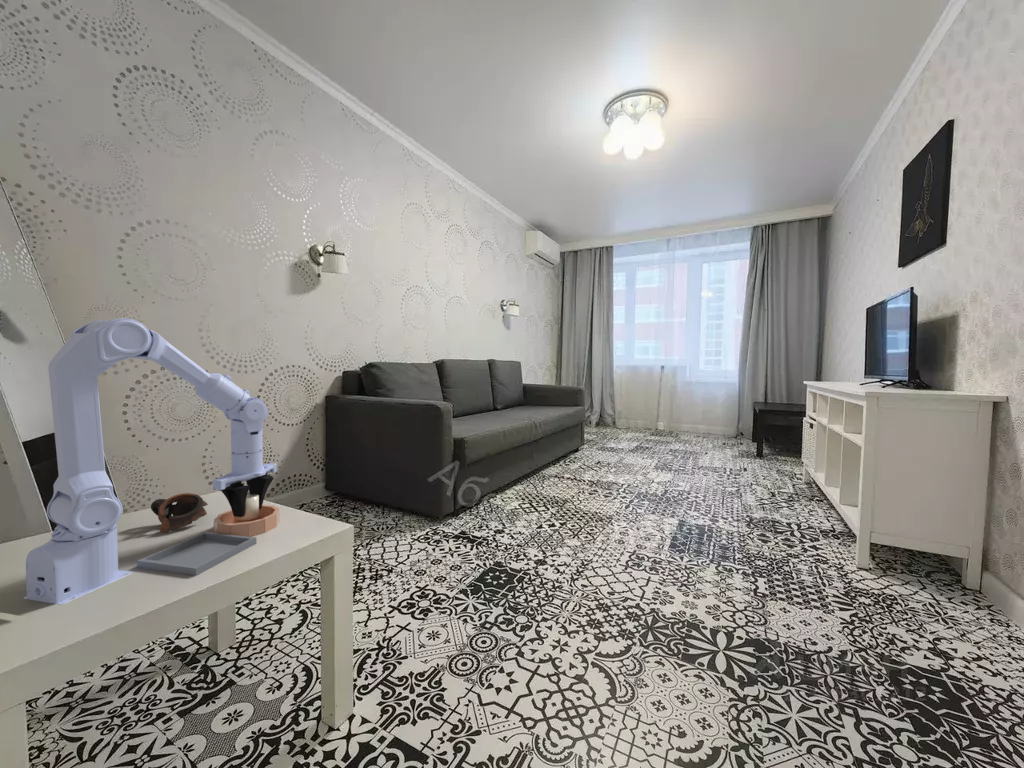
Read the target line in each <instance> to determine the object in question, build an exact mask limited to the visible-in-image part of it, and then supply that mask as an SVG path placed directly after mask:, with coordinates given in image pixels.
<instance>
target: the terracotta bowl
mask: <svg viewBox="0 0 1024 768" xmlns="http://www.w3.org/2000/svg"><path fill="white" fill-rule="evenodd" d="M280 522H281V521H280V508H279V507H278V506H275V505H269V504H262V508H261V509H259V516H258V517H256V518H254V519H250V520H238V519H237V517H235V516H234V515H233V512H232V509H230V510H227V511H224V512H222V513H220V514H218V515H217V516H216V517H215V518H214V519H213V533H221V534H229V535H238V536H247V537H255V536H258V535H262V534H265V533H267V532H270V531H271V530H274V529H275V528H277V527H278V525H279V523H280Z"/></svg>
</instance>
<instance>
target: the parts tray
mask: <svg viewBox="0 0 1024 768" xmlns="http://www.w3.org/2000/svg"><path fill="white" fill-rule="evenodd" d="M256 544H257V537H255V536H252V537H247V536H238V535H229V534H221V533H214V532H209V531H203V532H201V533H199V534H196V535H194V536H192V537H189V538H186V539H184V540H182V541H180V542H177V543H175V544H173V545H171V546H169V547H166V548H163V549H162V550H158V551H157V552H154V553H152V554H150V555H148V556H145V557H142V558H140V559H138V560H136V567H137V568H138V569H145V570H146V569H147V570H151V571H160V572H167V573H173V574H180V575H181V574H182V575H188V576H196V577H197V576H198V575H200V574H203V573H204V572H206V571H207V570H209V569H212V568H214V567H215V566H217V565H220V564H221V563H223V562H225V561H227V560H228V559H231V558H233V557H234V556H236V555H238V554H240V553H241V552H243V551H245V550H247V549H249V548H251V547H253V546H255V545H256Z"/></svg>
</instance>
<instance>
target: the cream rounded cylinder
mask: <svg viewBox="0 0 1024 768" xmlns="http://www.w3.org/2000/svg"><path fill="white" fill-rule="evenodd" d="M258 516H259V495H258V494H250V493H247V497H246V508H245V515H244V516H243V517H237V519H238V520H250V519H254V518H256V517H258Z"/></svg>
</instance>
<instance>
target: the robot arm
mask: <svg viewBox="0 0 1024 768" xmlns="http://www.w3.org/2000/svg"><path fill="white" fill-rule="evenodd" d="M128 359H139V360H144V361H151V362H154V363H155V364H158V365H159V366H161V367H163V368H164V369H166V370H168V371H169V372H171V373H173V374H174V375H176V376H177V377H180V378H181V379H183V380H184V381H186V382H188V383H190V384H191V385H193V386H194V389H195V390H194V391H195V395H196V396H197V397H199V398H201V399H202V400H203V401H205V402H207V404H210V405H212V407H214V408H216V409H218V410H219V411H221V412H222V413H224V414H223V415H224V416H225V418H226V419H227V420H230V452H231V453H230V456H231V457H230V458H231V459H230V460H231V462H230V464H231V468H230V469H231V471H230V472H228V473H226V474H224V475H222V476H220V477H218V478H216V479H213V480H212V490H217V491H221V493H222V494H223V495H224V496H225V498H226V500H227V502H228V503H229V506H230V510H232V512H233V515H234V516H235V517H243V516H244V515H245V508H246V497H247V494H258V495H259V509H261V508H262V505H264V504H263V503H264V500H265V496H266V494H267V491H268V489H269V486H270V485H271V484H272V482H273V480H274V478H273V477H274V476H273V475H270V474H271V473H277V472H278V468H277V466H278V464H277V463H274V462H273V463H272V462H269V463H266V464H265V463H264V462H263V461H264V460H263V458H264V457H263V456H264V454H263V453H264V452H263V449H264V448H263V447H264V444H263V439H264V438H263V435H264V434H263V428H264V422H265V421H266V419H267V417H268V416H269V408H267V406H266V404H265V402H264V401H263V400H262V399H261V398H258V397H254V396H253V397H252V396H250V391H249V390H248V389H242V388H241V387H240V386H238V385H237V384H235V383H234V382H233V381H231V380H232V377H231V376H230V375H229V374H221V373H218V372H214V373H208V371H206V370H205V369H204V368H202V367H201V366H200V365H199V364H197V363H196V362H195V361H193V360H192V359H190V358H189V357H188V356H186V355H185V354H184V353H183V352H182V351H180V350H179V349H177V348H176V347H175V346H174V345H172V344H171V343H170V342H169V341H167V340H166V339H165V338H164V337H163V336H162V335H160V334H159V333H158V332H157V331H153V330H152V329H148V328H147V327H146V325H144V324H143V323H141V322H139V321H137V320H135V319H134V318H133V319H132V318H129V317H128V318H125V317H120V318H115V319H109V320H106V319H105V320H104V319H99V320H93V321H90V322H87V323H86V324H84V325H82V326H80V327H77V328H76V329H74V330H72V331H71V334H70V336H69V338H68V339H67V341H66V342H65V343H64V344H63V345H62V347H61V348H60V349H59V350H58V351H57V353H55V355H54V356H53V357H52V359H51V360H50V361H49V362H48V367H47V368H48V377H49V389H50V397H51V398H50V399H51V409H52V420H53V421H52V422H53V430H54V431H53V432H54V441H55V450H56V461H57V471H58V476H57V478H56V480H55V481H54V483H53V487H52V488H53V495H52V497H51V499H50V500H49V502H48V504H47V507H46V515H47V517H48V519H49V520H50V521H51V522H53V523H54V524H56V526H55V527H54V529H53V531H52V533H51V538H50V539H49V540H48V541H47V542H45V543H44V544H42V545H39V546H37V547H35V548H32V549H31V550H30V551H29V552H28V554H27V556H26V559H25V581H26V582H25V584H26V585H25V586H26V587H25V588H26V595H25V596H24V597H23V599H24V600H30V601H35V602H36V601H37V602H42V603H46V604H47V603H48V604H54V605H59V606H60V605H64V604H65V605H66V604H68V603H70V602H72V601H74V600H76V599H79V598H80V597H84V596H85V595H87V594H89V593H92V592H94V591H96V590H99V589H100V588H103V587H105V586H108V585H110V584H112V583H115V582H116V581H118V580H120V579H122V578H125V577H127V576H130V575H131V574H133V573H134V572H133V571H129V570H124V569H123V570H122V569H119V551H118V550H119V549H118V548H119V547H118V545H119V543H118V542H119V541H118V539H119V538H118V522H119V521H120V520H121V517H122V515H123V511H124V508H123V504H122V502H121V501H120V500H119V498H118V497H116V495H115V493H114V486H113V483H112V481H111V479H110V478H109V476H108V474H107V472H106V464H105V463H106V462H105V453H104V442H103V441H104V438H103V429H102V417H101V407H100V404H101V403H100V394H99V392H100V391H99V384H98V382H99V381H98V377H99V376H100V375H101V374H103V373H104V372H106V371H107V370H109V369H110V368H112V367H113V366H114V365H116V364H118V363H119V362H122V361H125V360H128ZM263 463H264V464H263ZM268 474H269V475H268ZM243 482H246V484H247V485H244V483H243Z"/></svg>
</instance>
